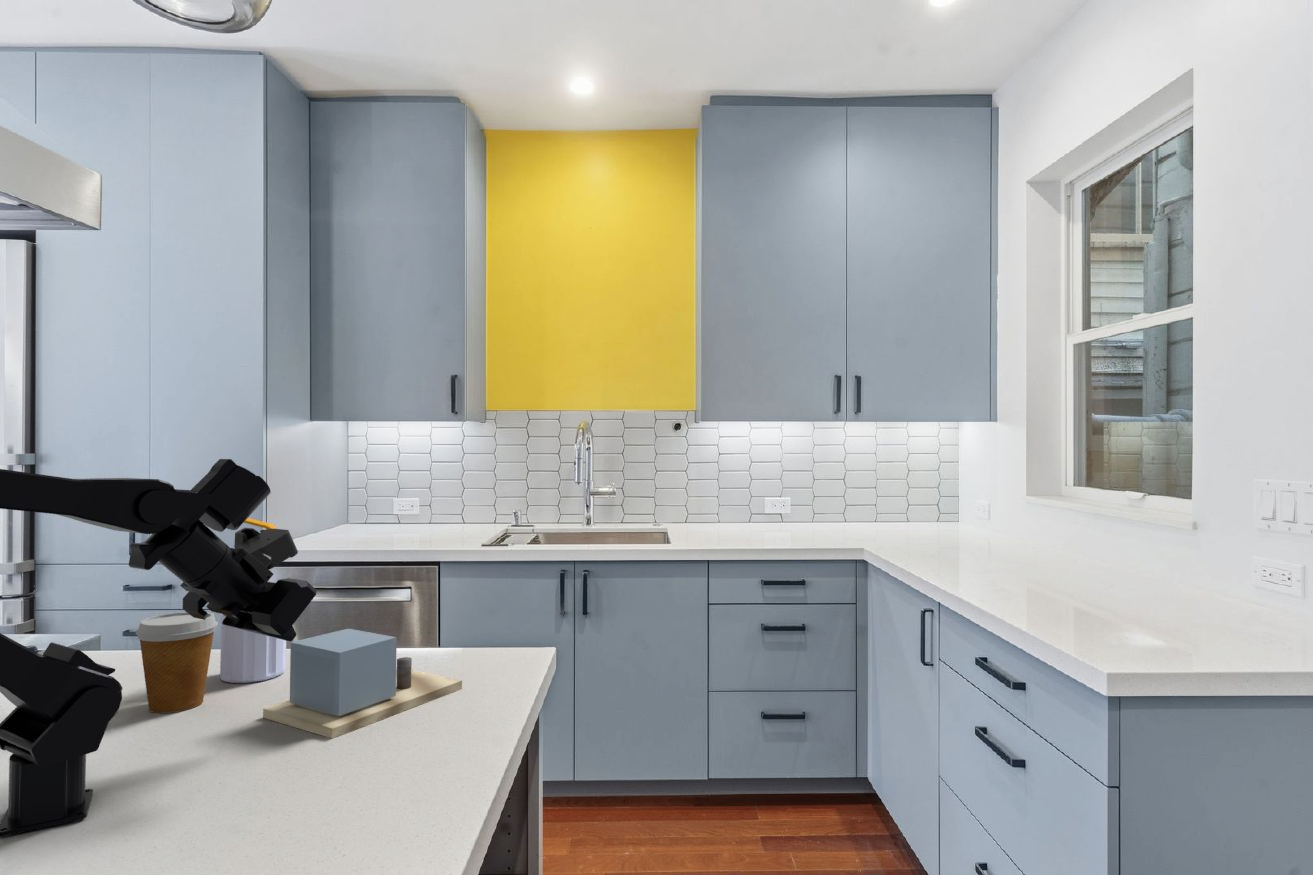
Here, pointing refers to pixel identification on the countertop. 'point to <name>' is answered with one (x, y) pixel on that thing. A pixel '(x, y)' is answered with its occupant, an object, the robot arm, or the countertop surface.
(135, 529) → the robot arm
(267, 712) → the flat panel
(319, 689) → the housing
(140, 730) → the countertop surface
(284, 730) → the countertop surface
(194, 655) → the disposable coffee cup
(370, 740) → the countertop surface
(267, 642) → the soap bottle
